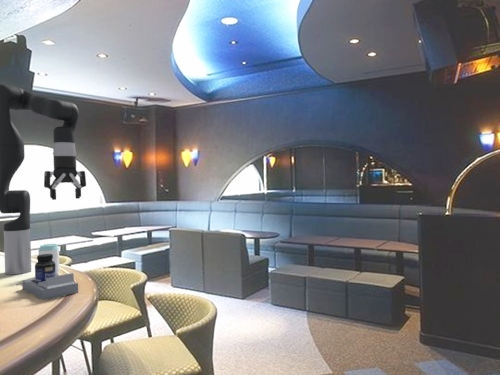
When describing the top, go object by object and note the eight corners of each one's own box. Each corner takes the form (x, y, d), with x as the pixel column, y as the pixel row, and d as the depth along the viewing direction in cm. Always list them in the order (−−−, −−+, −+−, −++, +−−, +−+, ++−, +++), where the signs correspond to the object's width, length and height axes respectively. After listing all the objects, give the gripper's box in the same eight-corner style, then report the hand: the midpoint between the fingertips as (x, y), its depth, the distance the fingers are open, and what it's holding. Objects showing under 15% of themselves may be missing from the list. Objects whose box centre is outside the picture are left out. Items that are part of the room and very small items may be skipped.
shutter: (38, 284, 125) (37, 274, 125) (64, 280, 131) (63, 270, 131) (47, 289, 120) (47, 278, 120) (74, 283, 125) (73, 273, 125)
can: (39, 278, 147) (38, 246, 147) (39, 275, 153) (38, 244, 153) (59, 276, 150) (59, 245, 150) (59, 272, 156) (58, 242, 156)
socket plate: (22, 289, 132) (22, 280, 132) (55, 282, 140) (55, 274, 140) (43, 300, 119) (42, 290, 119) (78, 292, 126) (78, 283, 126)
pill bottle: (47, 290, 128) (46, 256, 128) (31, 289, 130) (30, 256, 129) (60, 285, 134) (59, 253, 134) (44, 285, 136) (43, 253, 135)
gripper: (48, 154, 137) (49, 200, 138) (88, 155, 148) (89, 198, 148) (40, 155, 142) (42, 199, 143) (79, 156, 153) (81, 197, 153)
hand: (66, 199), depth 145 cm, fingers open, 8 cm apart
